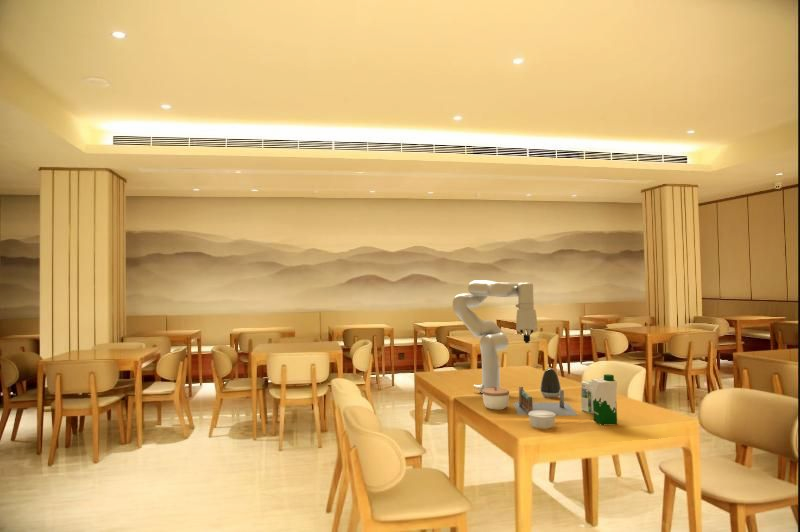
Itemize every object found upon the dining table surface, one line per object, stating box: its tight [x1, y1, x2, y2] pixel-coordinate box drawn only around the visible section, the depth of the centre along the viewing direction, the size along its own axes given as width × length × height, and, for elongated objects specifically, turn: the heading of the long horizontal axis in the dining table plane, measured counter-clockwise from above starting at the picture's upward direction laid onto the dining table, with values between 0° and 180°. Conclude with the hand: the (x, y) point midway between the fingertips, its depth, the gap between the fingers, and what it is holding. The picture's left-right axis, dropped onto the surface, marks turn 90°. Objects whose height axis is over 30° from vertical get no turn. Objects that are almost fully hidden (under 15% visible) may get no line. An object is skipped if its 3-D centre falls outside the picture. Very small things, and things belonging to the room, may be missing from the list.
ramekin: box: [527, 410, 557, 430], centre depth 220 cm, size 11×11×5 cm
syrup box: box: [580, 380, 593, 414], centre depth 238 cm, size 6×6×14 cm
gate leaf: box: [520, 389, 533, 413], centre depth 240 cm, size 16×2×8 cm, turn 1°
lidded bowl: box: [482, 386, 510, 411], centre depth 249 cm, size 13×13×11 cm
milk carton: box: [591, 374, 618, 426], centre depth 224 cm, size 9×9×20 cm
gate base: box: [513, 386, 579, 417], centre depth 245 cm, size 26×24×10 cm
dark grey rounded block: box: [539, 367, 562, 399], centre depth 272 cm, size 10×10×15 cm
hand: (526, 342), depth 268 cm, fingers closed
